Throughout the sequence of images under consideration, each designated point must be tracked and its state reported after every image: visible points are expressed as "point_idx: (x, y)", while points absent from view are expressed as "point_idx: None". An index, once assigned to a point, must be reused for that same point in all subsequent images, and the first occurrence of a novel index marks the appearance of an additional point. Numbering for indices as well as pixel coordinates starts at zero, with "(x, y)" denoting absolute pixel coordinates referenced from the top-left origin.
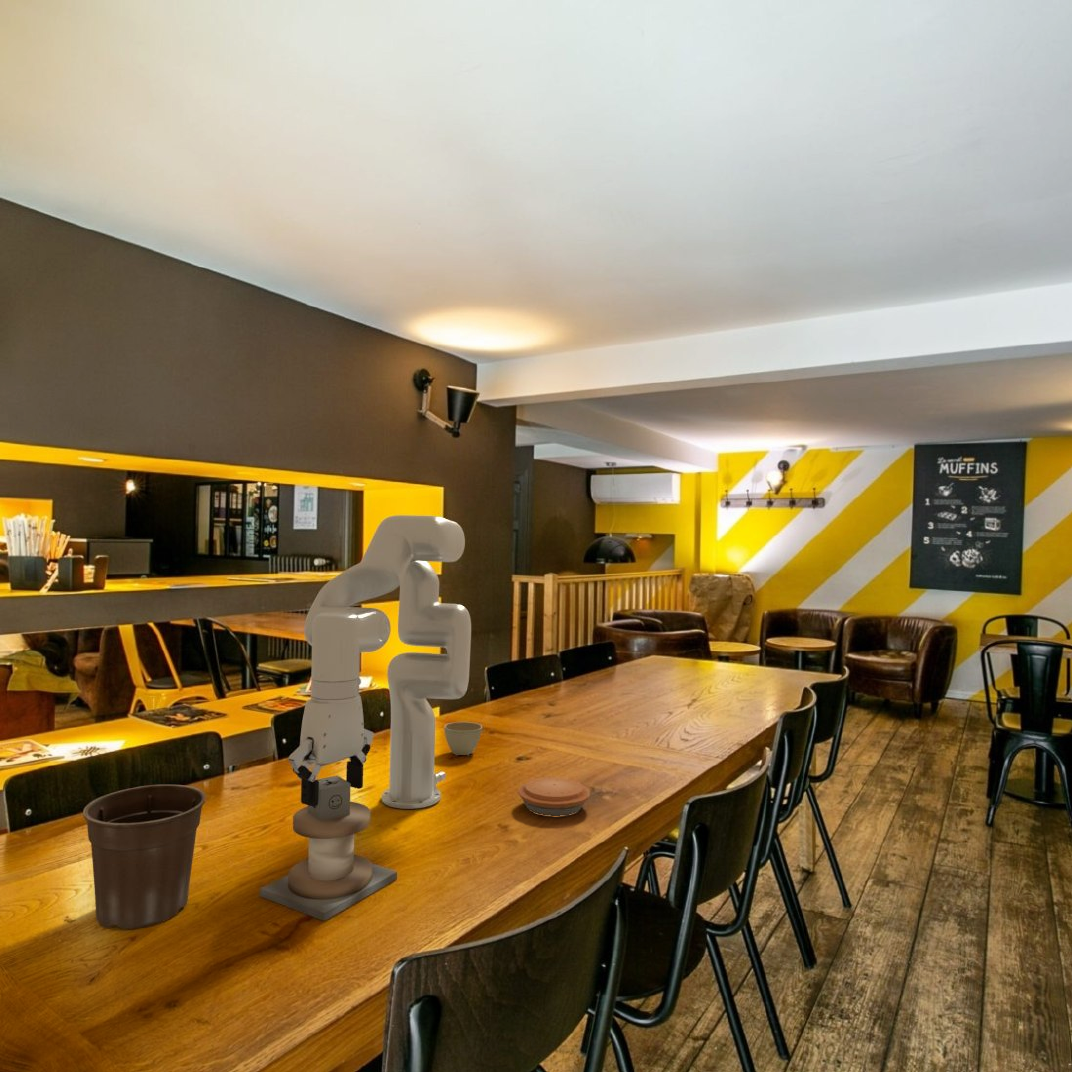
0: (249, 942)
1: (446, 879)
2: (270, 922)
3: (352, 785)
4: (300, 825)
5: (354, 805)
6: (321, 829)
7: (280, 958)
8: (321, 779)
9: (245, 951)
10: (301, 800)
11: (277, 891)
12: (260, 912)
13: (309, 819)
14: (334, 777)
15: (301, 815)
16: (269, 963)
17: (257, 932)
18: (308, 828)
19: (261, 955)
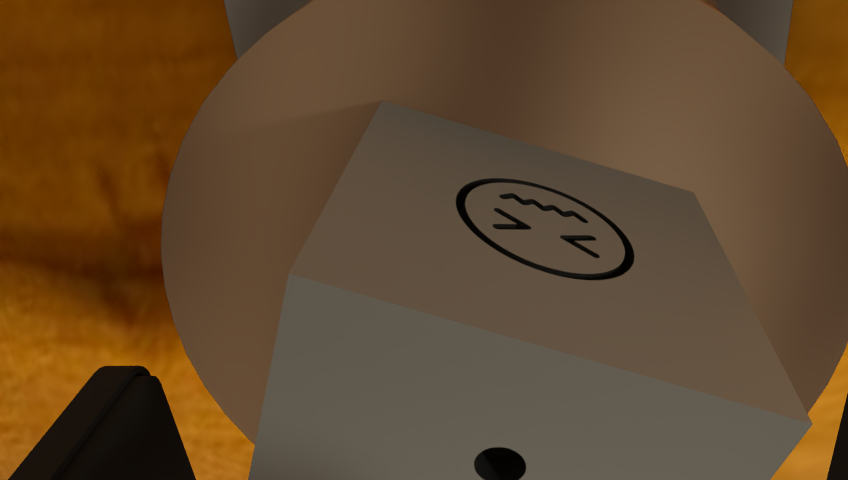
0: (41, 198)
1: (836, 429)
2: (152, 145)
3: (840, 466)
4: (166, 292)
5: (780, 319)
6: (251, 438)
7: (90, 340)
8: (490, 368)
9: (13, 232)
10: (97, 378)
11: (250, 4)
12: (153, 41)
13: (287, 254)
14: (690, 450)
15: (287, 125)
16: (55, 335)
17: (86, 166)
18: (195, 361)
19: (49, 287)
